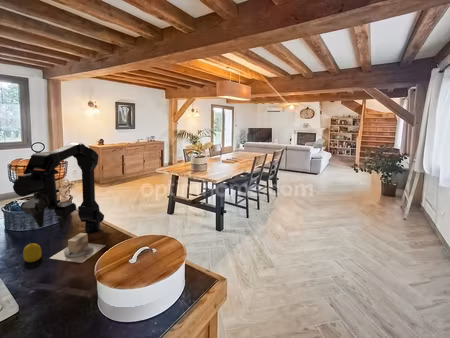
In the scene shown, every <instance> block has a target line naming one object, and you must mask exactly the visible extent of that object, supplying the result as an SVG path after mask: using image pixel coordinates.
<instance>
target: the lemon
mask: <svg viewBox="0 0 450 338" xmlns="http://www.w3.org/2000/svg"><path fill="white" fill-rule="evenodd" d="M42 251H43V250H42V248H41V246H40V245H39V244H38V243H33V242H31V243H29V244H27V245H25V247H24V248H23V251H22V257H23V259H24V261H25V262H27V263H34V262H36V261H39V260H40V258H42V254H43V253H42Z"/></svg>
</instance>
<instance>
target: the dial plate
mask: <svg viewBox="0 0 450 338" xmlns="http://www.w3.org/2000/svg"><path fill="white" fill-rule="evenodd" d="M90 244H92V245H93V250H92V251H91V252H90V253H88V254H86V255H83V256H79V257H67V256H65V255H64V250H65V249H66V248H67V247H65V248H64V249H62V250H61V251H59V252H57V253H55V254H54V255H52V256H51V257H49V259H52V260H59V261H65V262H72V263H73V262H74V263H79V264H80V263H81V264H82V263H84V262H85V261H86V260H88V259H89V258H91V257H92V256H94V255H95V254H96V253H98V252H99V251H100V250H102V249H103V248H104V247H106V244H99V243H98V244H97V243H92V242H91V243H90Z"/></svg>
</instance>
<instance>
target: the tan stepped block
mask: <svg viewBox="0 0 450 338" xmlns="http://www.w3.org/2000/svg"><path fill="white" fill-rule="evenodd" d="M88 239H89V237H88V233H83V232H80V233H78V234H76V235H75V236H73V237H71V238H70V239H68V240H67V246H66V247H65V248H66V249H65V248H64V249H65V250H64V249H63V250H64V255H65V256H67V257H79V256H83V255H86V254H88V253H90V252H91V251H92V250H93V245H92V244H93V243H91V244H90V243H89V240H88Z"/></svg>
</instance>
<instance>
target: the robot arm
mask: <svg viewBox="0 0 450 338" xmlns="http://www.w3.org/2000/svg"><path fill="white" fill-rule="evenodd" d="M71 157H73V158H74V159H76V163H77V166H78V168H79V169H80V170H81V182H82V186H81V187H82V202H81V204H80V205H79V206H78V207H77V204H76V203H74V202H67V201H66V202H62V203H61V199H58V193H60V189H59V188H57V184H56V175H58V174H59V170H57V169H56V168H58V167H59V165H60V164H61V162H63V161H64V160H67V159H70V158H71ZM98 165H99V154H98V153H97V151H95V150H94V149H93V148H90V147H89V146H86V145H85V144H84V143H82V142H71V143H69V144H66V145H64V146H62V147H59V148H56V149H54V150H52V151H42V152H35V153H32V154H31V156H30V158H29V160H28V162H27V164H26V167H25V169H24V170H23V174H20V175H17V179H16V180H15V181H14V182H13V185H12V189H13V192H14V193H15V194H16V196H19V197H27V196H30V195H33V197H32V198H31V199H29V200H26V201H25V200H24V201H23V202H22V203H21V204H20V210H21V211H23V212H24V214H25V215H30V216H32V218H33V219H34V221H35V223H36V224H37V226H38V228H42V227H43V226H44V220H45V219H44V218H45V210H51V211H52V210H54V213H55V215H54V216H55V217H56V218H57V220H58V225H59V226H58V228H59V230H60V231H63V230H64V228H65V226H66V224H67V222H68V219H69V218H70V215H71V214H72V213H74V212H75V211H77V210H78V211H77V212H78V213H77V215H78V217H79V220H80V222H81V223H84V225H85V226H84V231H85V233H86V234H89V235H90V234H94V233H96V232H100V231H102V229H101V223H102V222H103V221H104V219H105V214H104V213H102V211H101V210H100V205H99V204H98V202H97V201H96V192H95V191H96V190H95V189H96V188H95V187H96V186H95V169H96V168H97V166H98Z"/></svg>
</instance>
